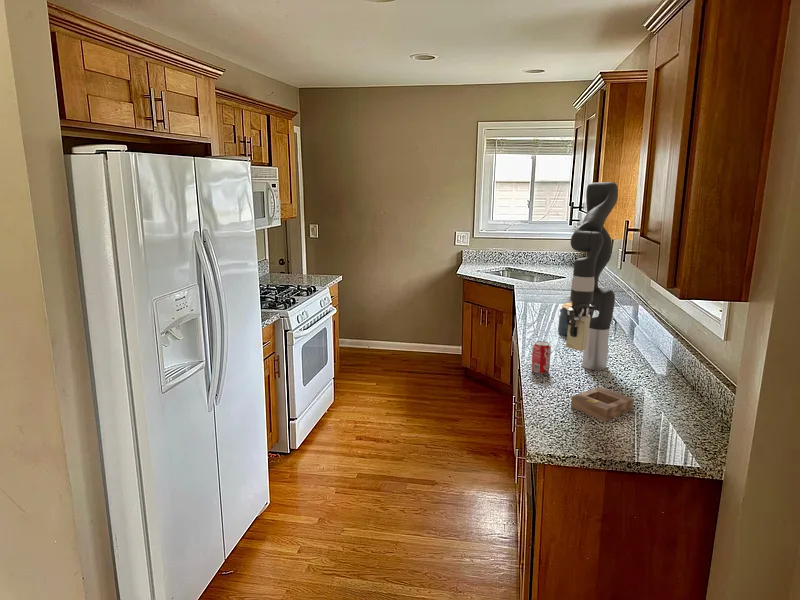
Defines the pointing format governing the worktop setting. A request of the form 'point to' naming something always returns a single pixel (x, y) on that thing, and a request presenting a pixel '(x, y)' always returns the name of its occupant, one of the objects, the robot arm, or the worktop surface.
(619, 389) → the worktop surface
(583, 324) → the skincare box
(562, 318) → the canister
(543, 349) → the soda can
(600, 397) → the brown square frame block
